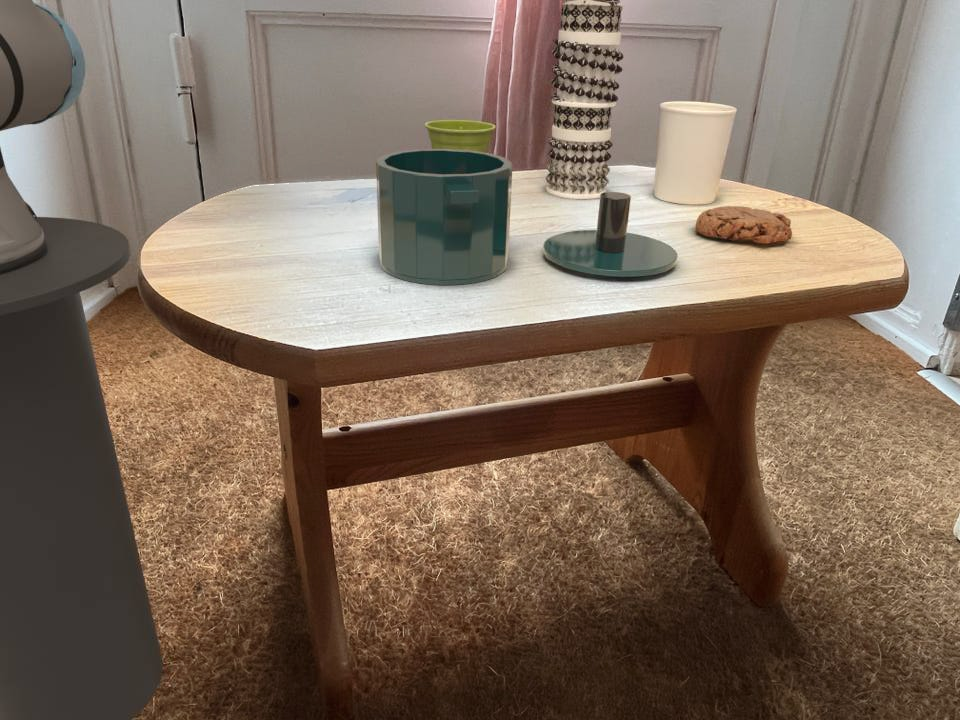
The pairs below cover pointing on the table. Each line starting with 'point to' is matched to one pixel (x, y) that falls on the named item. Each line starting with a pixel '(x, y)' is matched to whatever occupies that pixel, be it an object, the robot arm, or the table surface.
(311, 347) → the table surface
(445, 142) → the plant pot
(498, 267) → the pot
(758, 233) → the cookie
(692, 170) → the white cup
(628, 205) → the pot lid
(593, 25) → the decorative candle
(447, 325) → the table surface
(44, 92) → the robot arm
